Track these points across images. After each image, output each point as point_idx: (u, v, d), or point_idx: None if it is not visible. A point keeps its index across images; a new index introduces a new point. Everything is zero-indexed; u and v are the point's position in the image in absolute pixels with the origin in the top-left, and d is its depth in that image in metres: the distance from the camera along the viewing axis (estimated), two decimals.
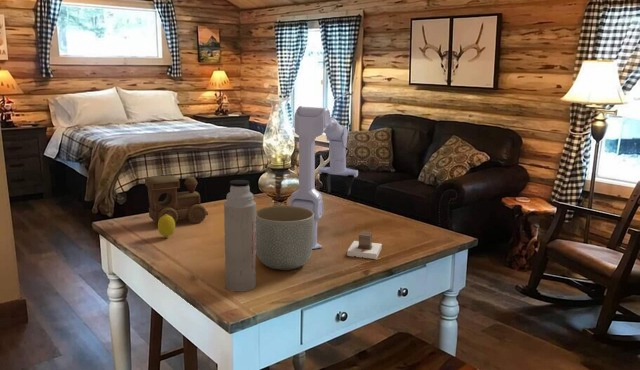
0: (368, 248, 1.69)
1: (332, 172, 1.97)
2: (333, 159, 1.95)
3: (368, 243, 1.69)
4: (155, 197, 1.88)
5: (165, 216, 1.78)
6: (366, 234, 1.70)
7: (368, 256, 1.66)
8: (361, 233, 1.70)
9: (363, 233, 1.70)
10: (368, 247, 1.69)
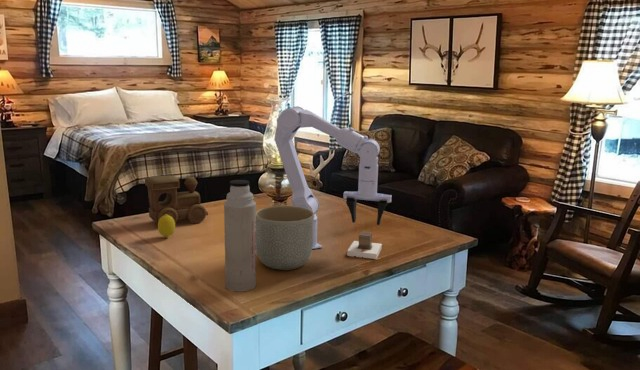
0: (368, 248, 1.69)
1: (361, 196, 1.65)
2: None
3: (368, 243, 1.69)
4: (155, 197, 1.88)
5: (165, 216, 1.78)
6: (366, 234, 1.70)
7: (368, 256, 1.66)
8: (361, 233, 1.70)
9: (363, 233, 1.70)
10: (368, 247, 1.69)
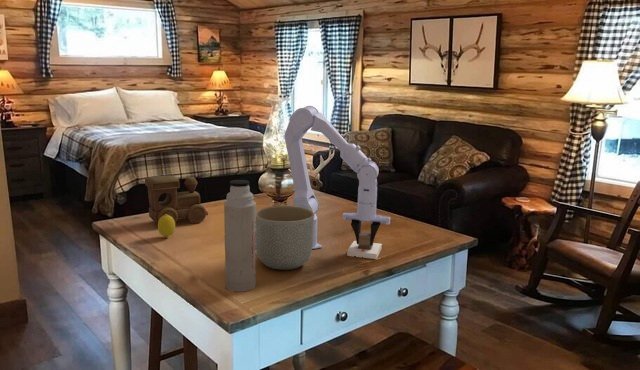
0: (368, 248, 1.69)
1: (360, 218, 1.67)
2: None
3: (368, 243, 1.69)
4: (155, 197, 1.88)
5: (165, 216, 1.78)
6: (366, 234, 1.70)
7: (368, 256, 1.66)
8: (361, 233, 1.70)
9: (363, 233, 1.70)
10: (368, 247, 1.69)
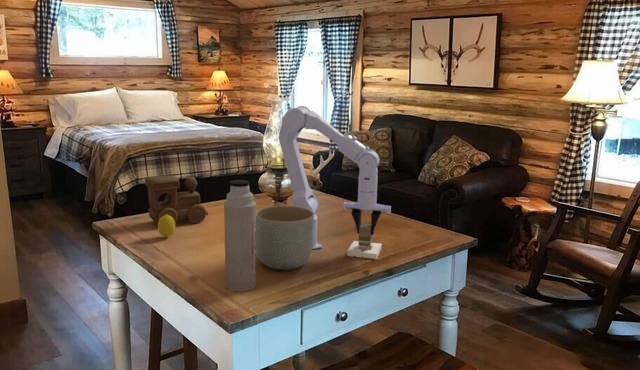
0: (368, 240, 1.68)
1: (361, 207, 1.66)
2: None
3: (368, 235, 1.68)
4: (155, 197, 1.88)
5: (165, 216, 1.78)
6: (366, 225, 1.69)
7: (368, 256, 1.66)
8: (361, 225, 1.70)
9: (363, 225, 1.70)
10: (368, 239, 1.68)
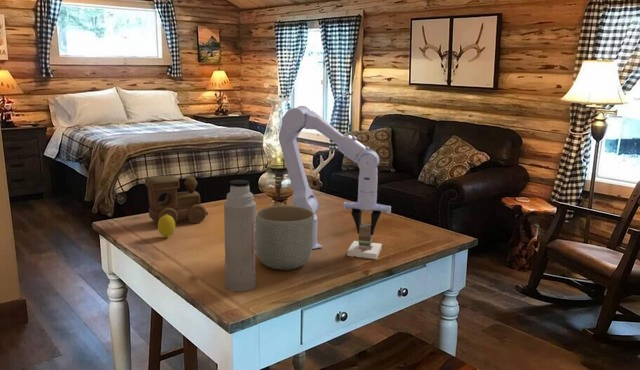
0: (368, 240, 1.68)
1: (361, 207, 1.66)
2: None
3: (368, 235, 1.68)
4: (155, 197, 1.88)
5: (165, 216, 1.78)
6: (366, 225, 1.69)
7: (368, 256, 1.66)
8: (361, 225, 1.70)
9: (363, 225, 1.70)
10: (368, 239, 1.68)
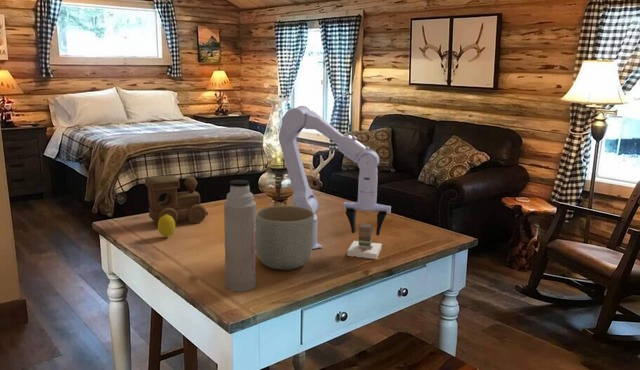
0: (368, 240, 1.68)
1: (361, 207, 1.66)
2: None
3: (368, 235, 1.68)
4: (155, 197, 1.88)
5: (165, 216, 1.78)
6: (366, 225, 1.69)
7: (368, 256, 1.66)
8: (361, 225, 1.70)
9: (363, 225, 1.70)
10: (368, 239, 1.68)
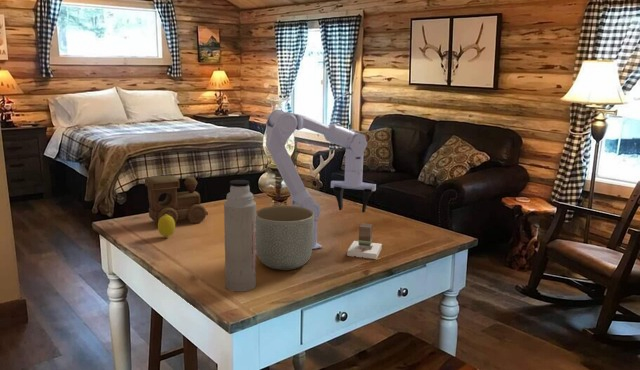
0: (368, 240, 1.68)
1: (347, 185, 1.75)
2: (345, 168, 1.76)
3: (368, 235, 1.68)
4: (155, 197, 1.88)
5: (165, 216, 1.78)
6: (366, 225, 1.69)
7: (368, 256, 1.66)
8: (361, 225, 1.70)
9: (363, 225, 1.70)
10: (368, 239, 1.68)
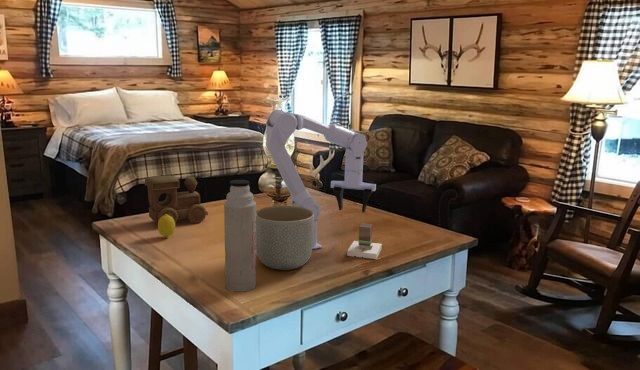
0: (368, 240, 1.68)
1: (347, 185, 1.75)
2: (345, 168, 1.76)
3: (368, 235, 1.68)
4: (155, 197, 1.88)
5: (165, 216, 1.78)
6: (366, 225, 1.69)
7: (368, 256, 1.66)
8: (361, 225, 1.70)
9: (363, 225, 1.70)
10: (368, 239, 1.68)
